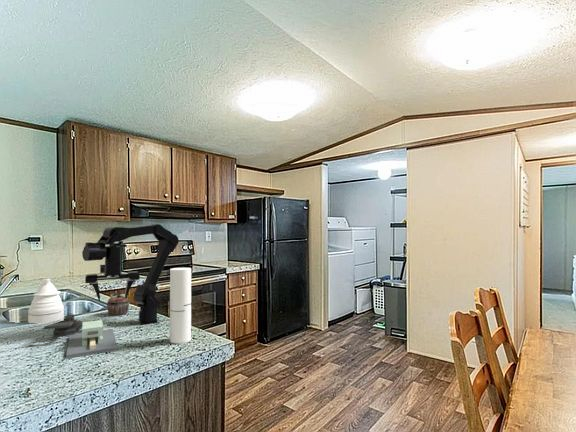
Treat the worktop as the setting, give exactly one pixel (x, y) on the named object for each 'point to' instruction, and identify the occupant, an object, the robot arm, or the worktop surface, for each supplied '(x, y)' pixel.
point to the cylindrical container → (180, 305)
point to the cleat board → (91, 344)
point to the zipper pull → (65, 326)
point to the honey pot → (46, 304)
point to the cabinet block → (92, 331)
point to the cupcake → (117, 304)
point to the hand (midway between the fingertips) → (112, 299)
